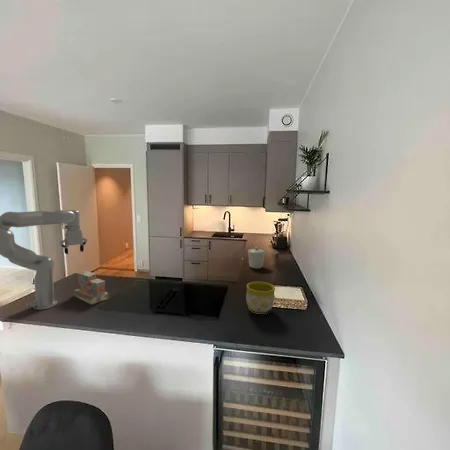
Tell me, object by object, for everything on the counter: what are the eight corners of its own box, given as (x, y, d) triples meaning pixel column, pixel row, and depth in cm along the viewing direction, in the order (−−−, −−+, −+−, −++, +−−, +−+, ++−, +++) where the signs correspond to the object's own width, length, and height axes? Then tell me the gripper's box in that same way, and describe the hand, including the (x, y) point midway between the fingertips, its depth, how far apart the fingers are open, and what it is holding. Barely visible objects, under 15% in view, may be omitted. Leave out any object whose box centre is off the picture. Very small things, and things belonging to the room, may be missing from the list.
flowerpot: (253, 319, 154) (255, 293, 152) (240, 306, 170) (241, 282, 168) (279, 315, 161) (280, 289, 158) (264, 303, 177) (265, 280, 175)
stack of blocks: (105, 294, 172) (105, 276, 171) (96, 297, 167) (96, 279, 165) (87, 287, 183) (86, 270, 182) (78, 289, 178) (77, 272, 176)
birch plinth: (91, 304, 165) (91, 298, 165) (74, 295, 177) (73, 290, 177) (108, 298, 175) (108, 293, 174) (91, 290, 187) (91, 285, 187)
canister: (257, 271, 249) (259, 249, 246) (243, 267, 261) (244, 246, 258) (268, 267, 262) (269, 247, 259) (253, 263, 274) (254, 244, 271)
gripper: (61, 229, 166) (62, 255, 168) (89, 227, 180) (89, 251, 182) (57, 228, 171) (58, 253, 173) (84, 226, 185) (84, 249, 187)
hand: (74, 252), depth 178 cm, fingers open, 9 cm apart
